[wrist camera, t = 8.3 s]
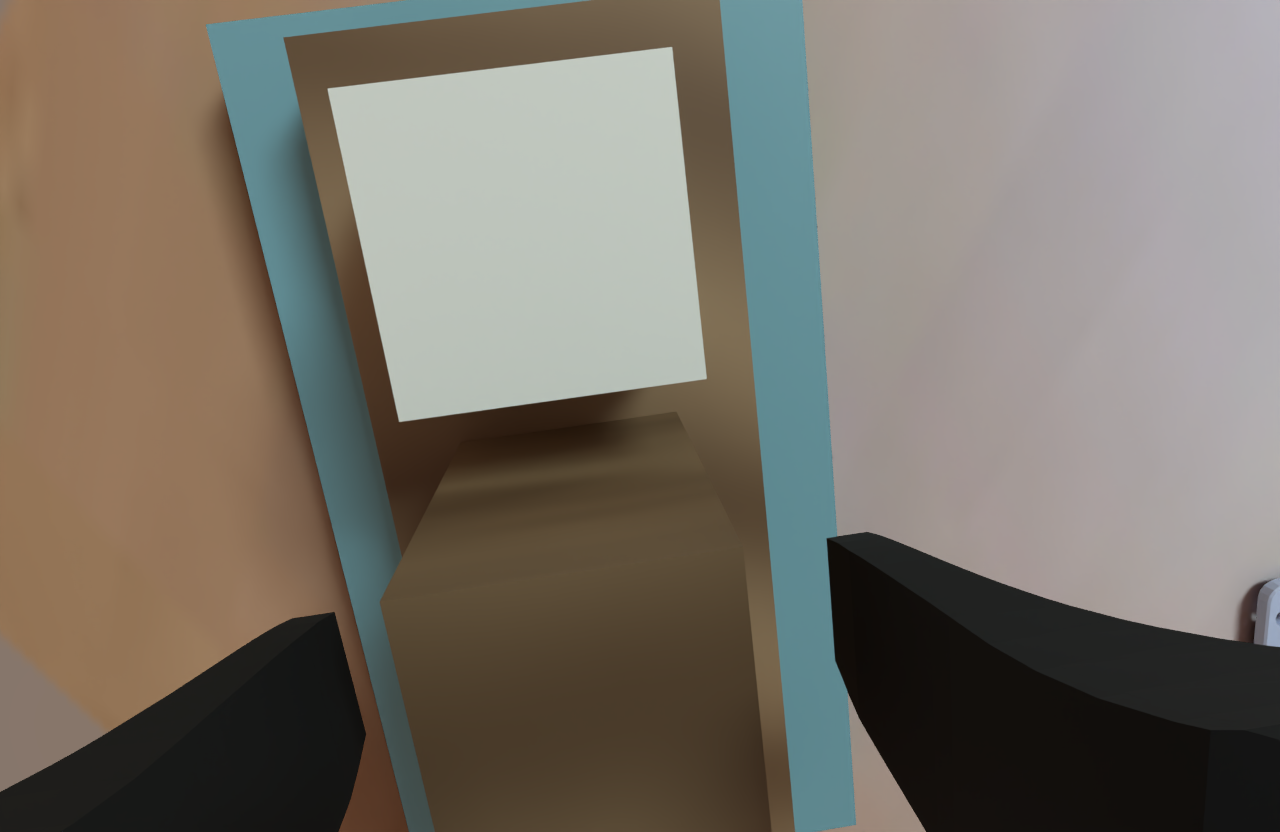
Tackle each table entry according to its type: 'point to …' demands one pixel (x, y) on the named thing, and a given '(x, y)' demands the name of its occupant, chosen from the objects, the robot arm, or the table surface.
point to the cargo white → (525, 231)
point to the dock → (779, 331)
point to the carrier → (578, 502)
